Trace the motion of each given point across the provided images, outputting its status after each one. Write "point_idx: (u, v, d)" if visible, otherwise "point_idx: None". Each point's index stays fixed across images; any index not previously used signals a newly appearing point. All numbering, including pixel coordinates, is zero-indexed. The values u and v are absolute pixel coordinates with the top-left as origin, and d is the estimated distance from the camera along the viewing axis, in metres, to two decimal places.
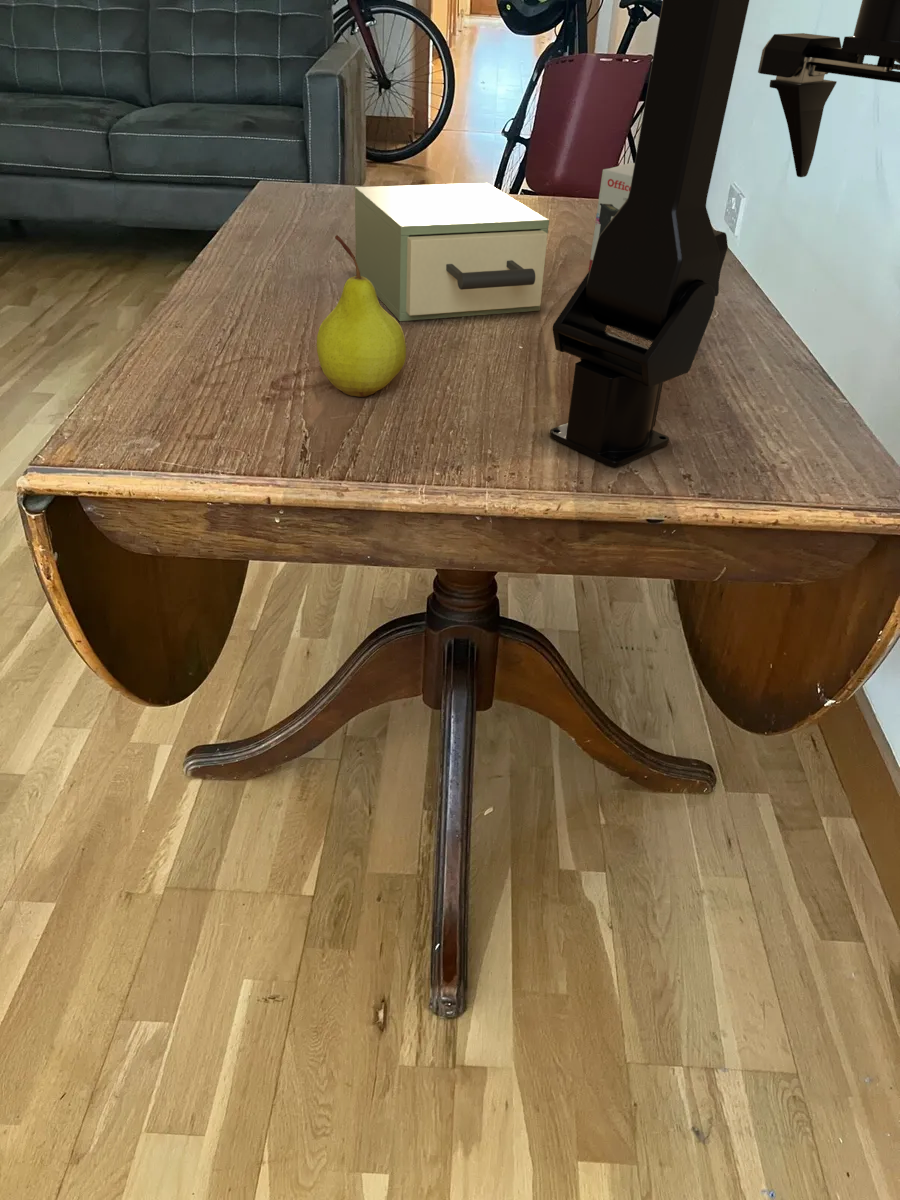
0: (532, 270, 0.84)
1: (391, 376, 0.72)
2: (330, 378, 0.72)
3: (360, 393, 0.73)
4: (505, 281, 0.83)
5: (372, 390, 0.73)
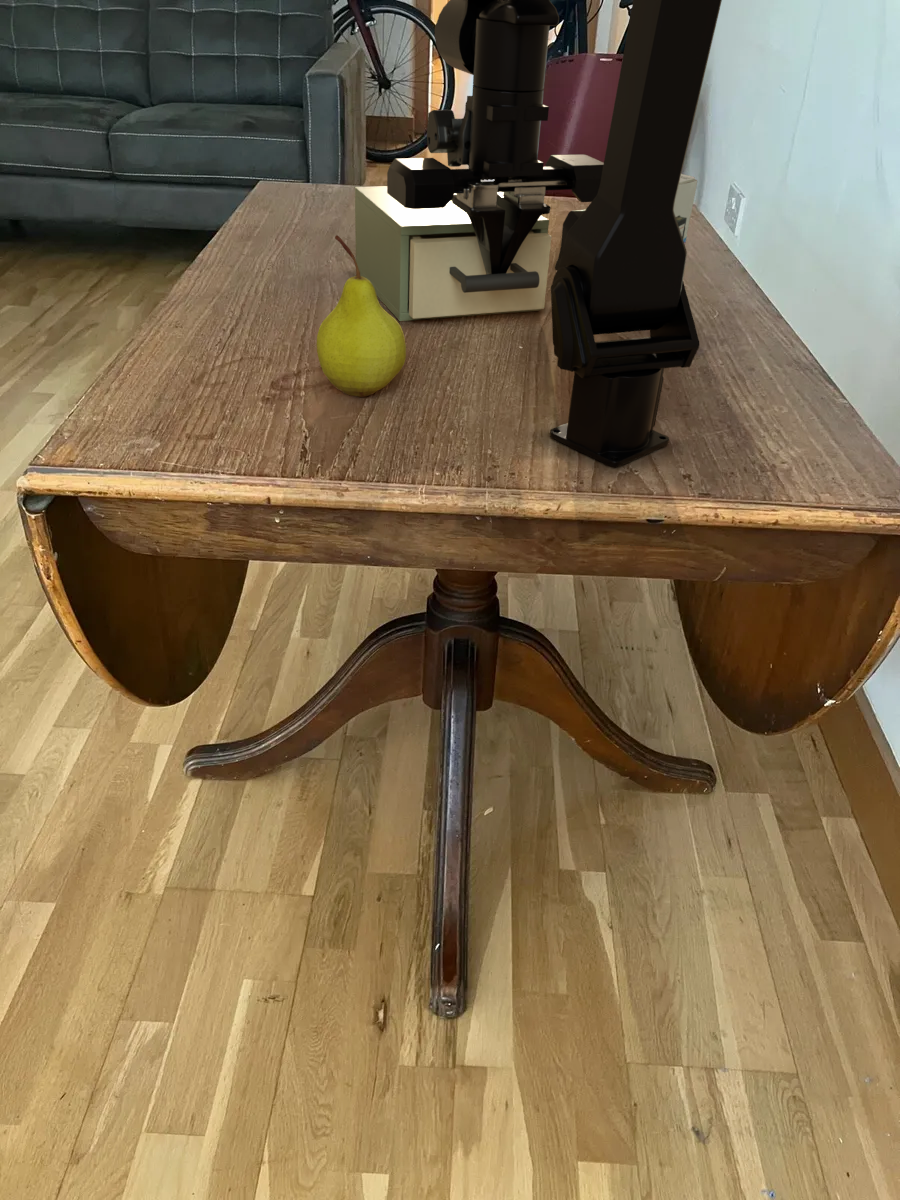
0: (536, 273, 0.83)
1: (391, 376, 0.72)
2: (330, 378, 0.72)
3: (360, 393, 0.73)
4: (509, 284, 0.83)
5: (372, 390, 0.73)
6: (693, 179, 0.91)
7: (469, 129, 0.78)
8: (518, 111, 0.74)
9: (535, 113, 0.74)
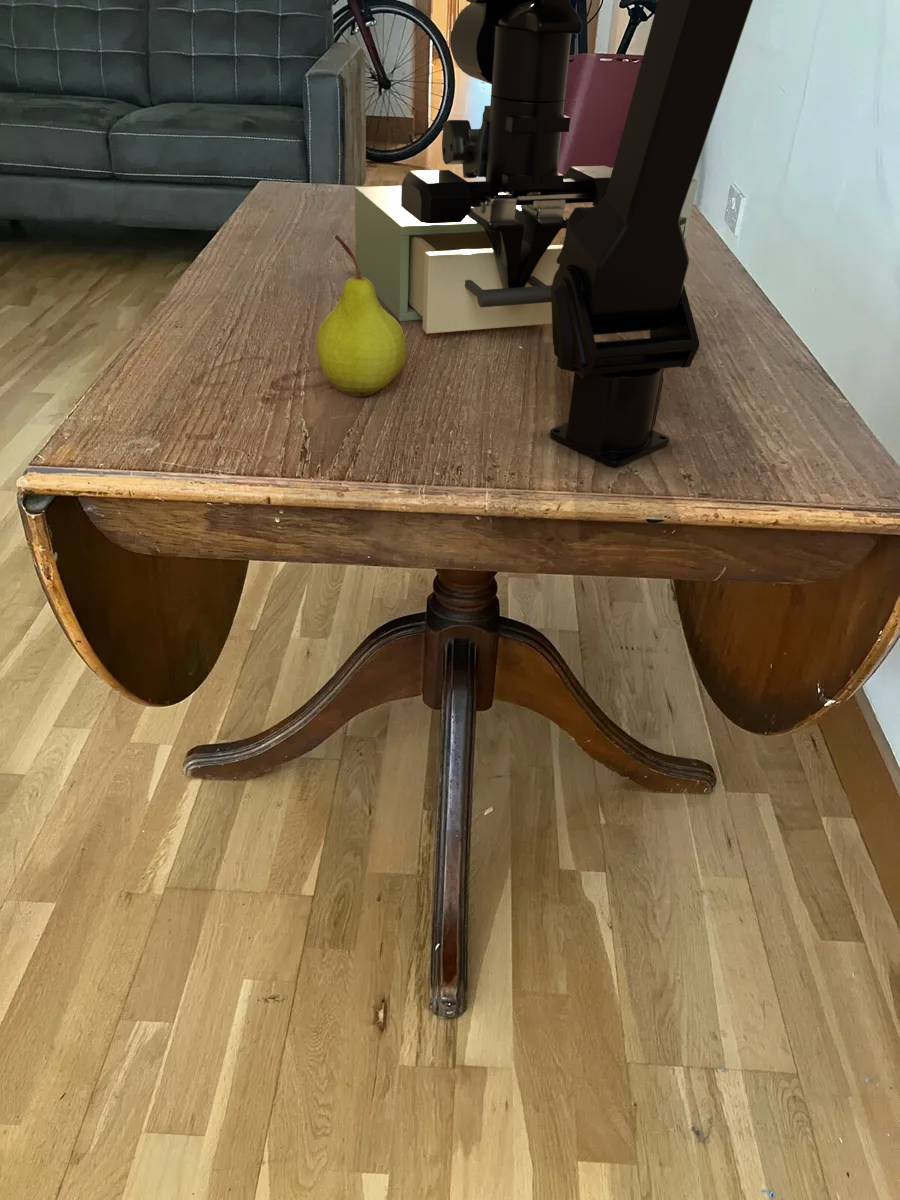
0: None
1: (391, 376, 0.72)
2: (330, 378, 0.72)
3: (360, 394, 0.73)
4: (527, 298, 0.80)
5: (372, 390, 0.73)
6: (693, 179, 0.91)
7: (486, 140, 0.75)
8: (538, 122, 0.71)
9: (556, 124, 0.72)
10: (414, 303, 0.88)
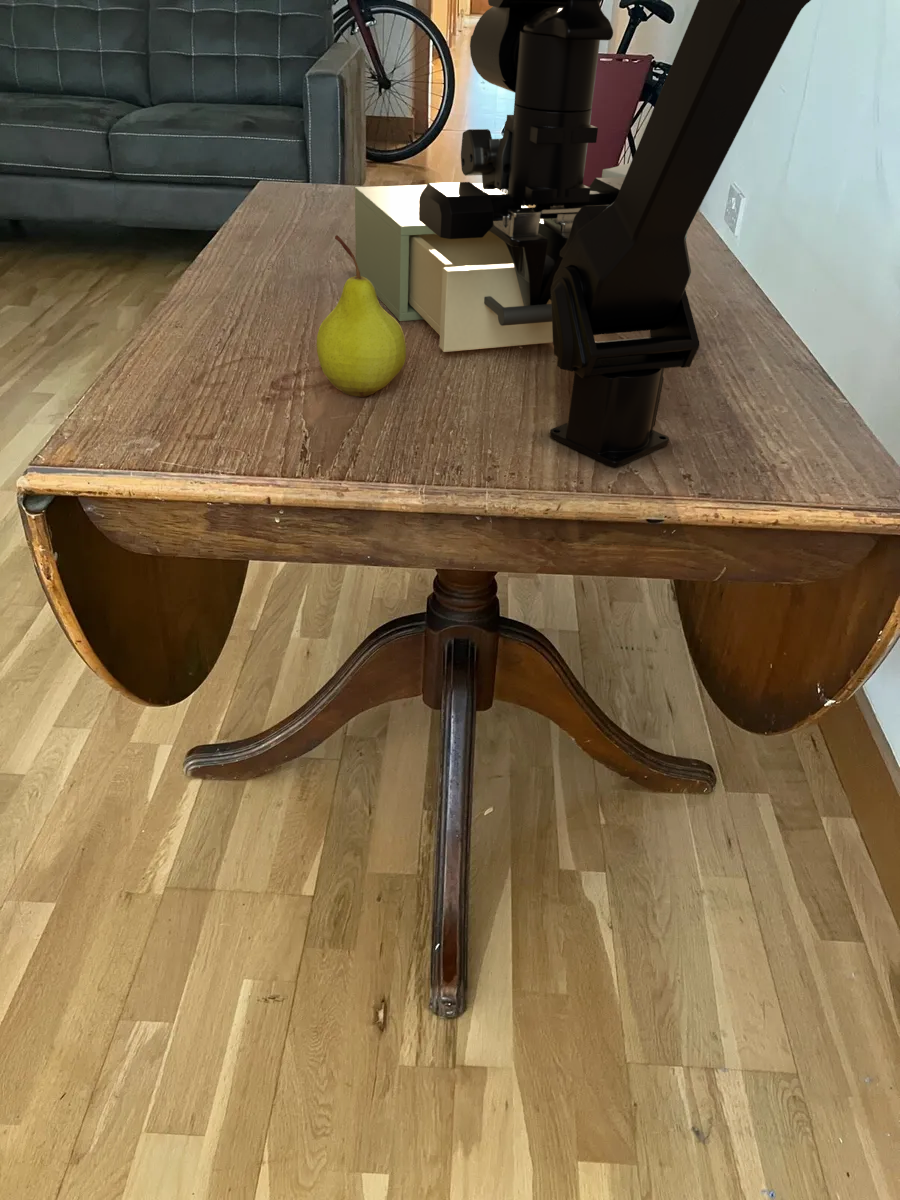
0: None
1: (391, 376, 0.72)
2: (330, 378, 0.72)
3: (360, 394, 0.73)
4: (550, 316, 0.76)
5: (372, 390, 0.73)
6: None
7: (508, 151, 0.72)
8: (564, 133, 0.68)
9: (583, 135, 0.68)
10: (429, 319, 0.84)
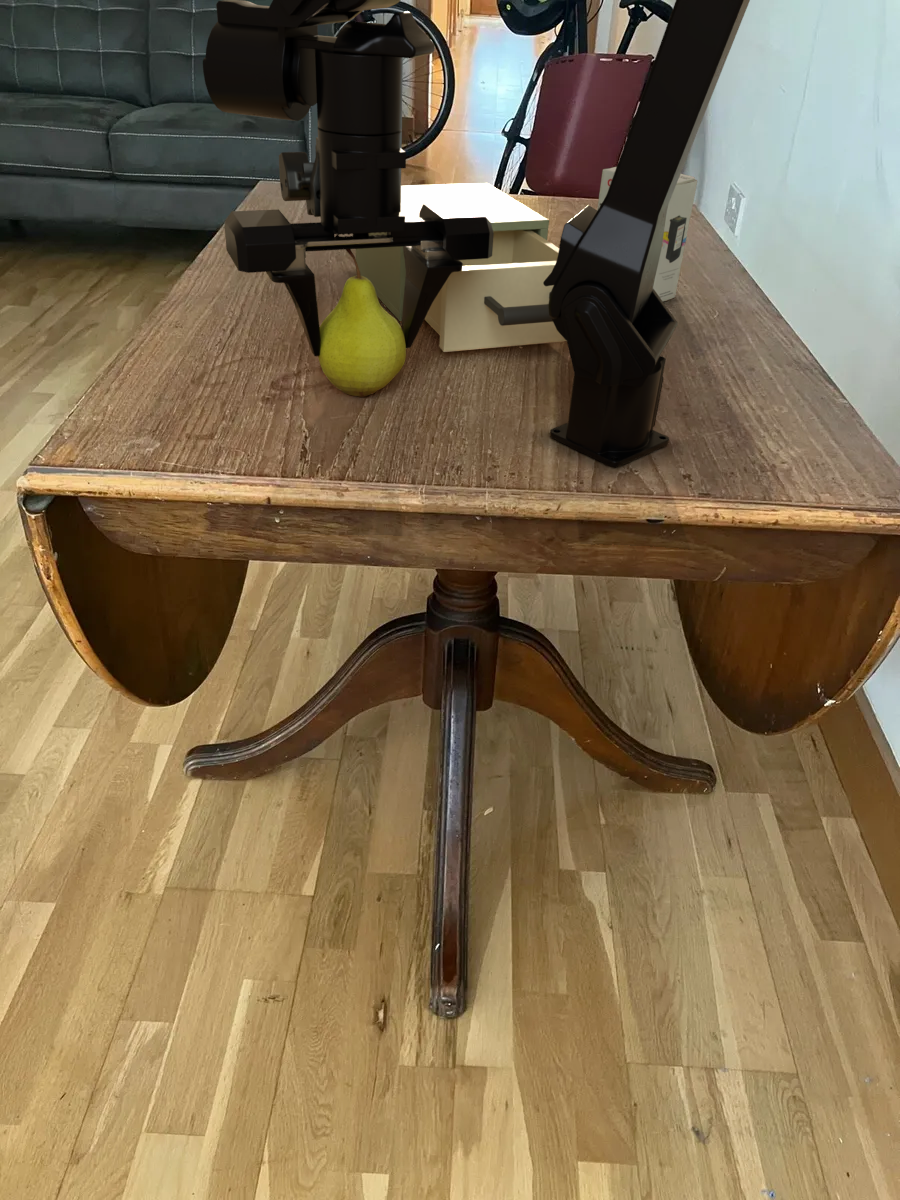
0: None
1: (391, 376, 0.72)
2: (330, 378, 0.72)
3: (360, 393, 0.73)
4: None
5: (372, 390, 0.73)
6: (693, 179, 0.91)
7: None
8: (368, 158, 0.62)
9: (389, 160, 0.63)
10: (429, 319, 0.84)
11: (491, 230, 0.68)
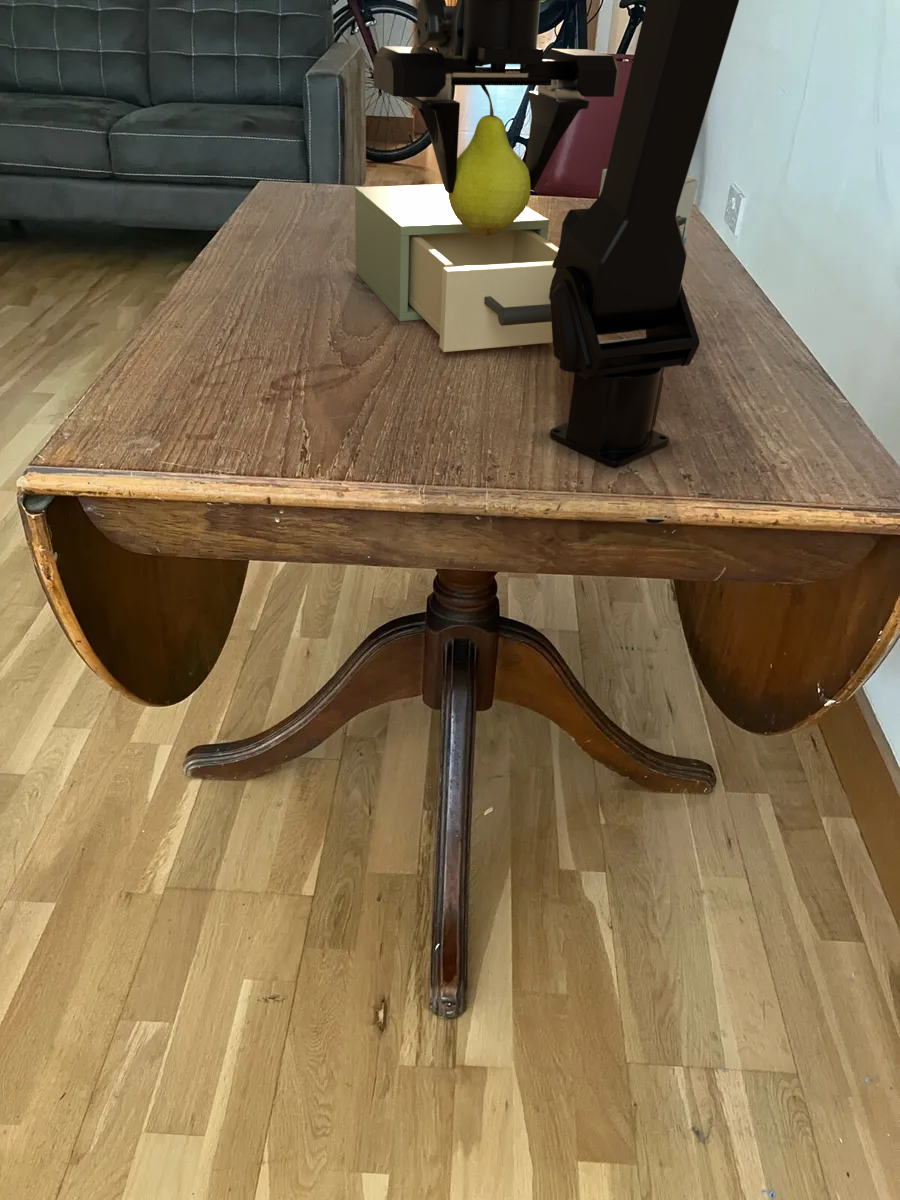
0: None
1: (517, 213, 0.78)
2: (461, 214, 0.77)
3: (488, 231, 0.78)
4: (550, 316, 0.76)
5: (499, 227, 0.78)
6: (693, 179, 0.91)
7: (462, 15, 0.72)
8: None
9: None
10: (429, 319, 0.84)
11: (617, 69, 0.74)
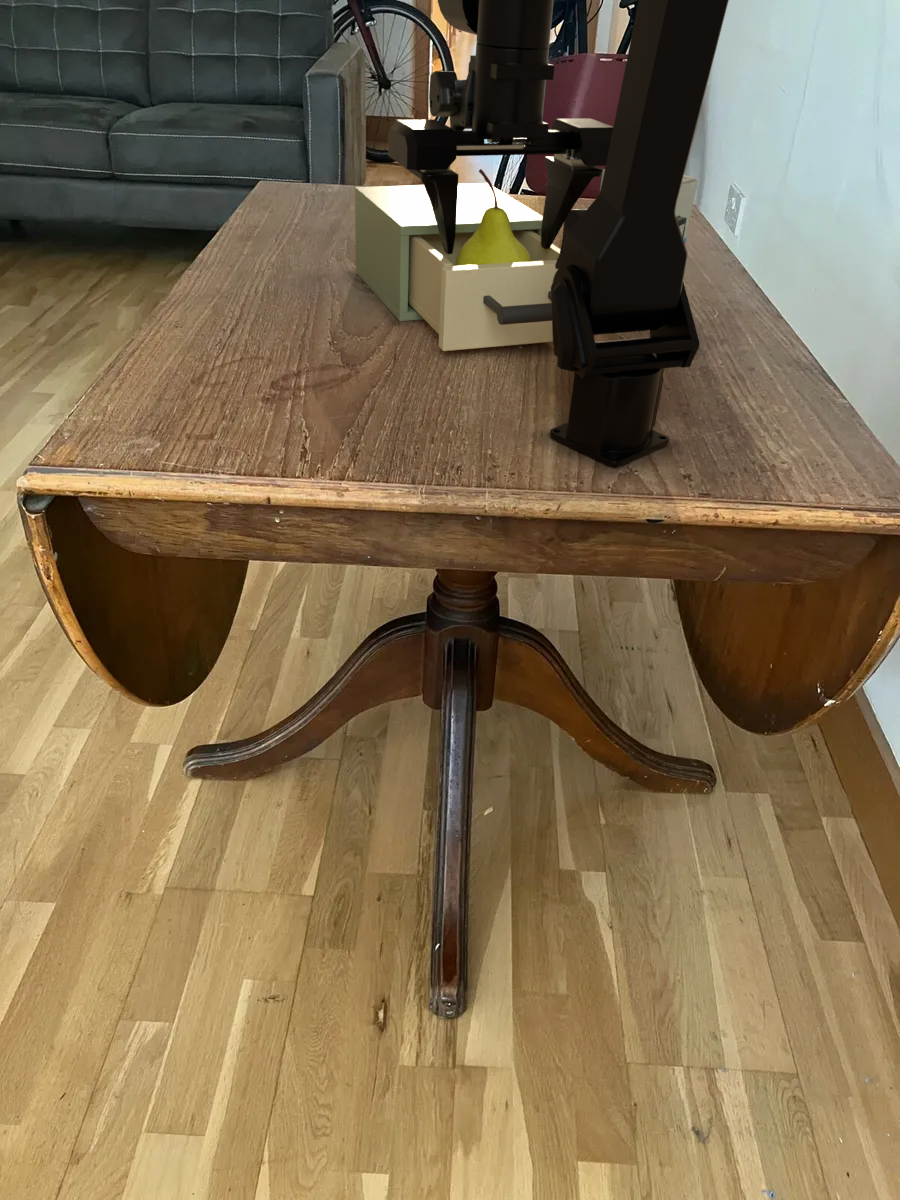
0: None
1: None
2: None
3: None
4: (549, 315, 0.76)
5: None
6: (693, 179, 0.91)
7: (472, 90, 0.76)
8: (522, 69, 0.72)
9: (540, 72, 0.73)
10: (429, 318, 0.84)
11: None
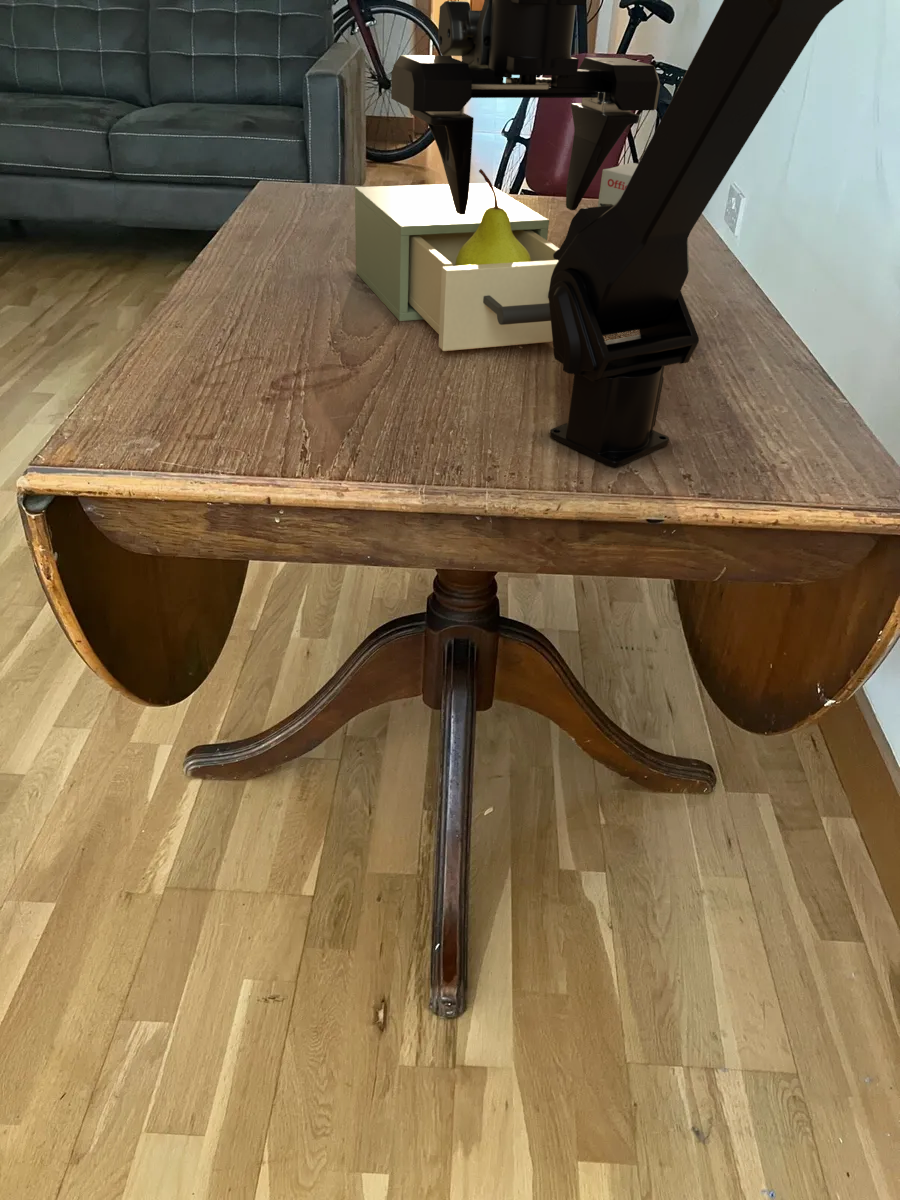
0: None
1: None
2: None
3: None
4: (549, 315, 0.76)
5: None
6: None
7: (489, 21, 0.66)
8: None
9: None
10: (429, 318, 0.84)
11: (658, 80, 0.67)
